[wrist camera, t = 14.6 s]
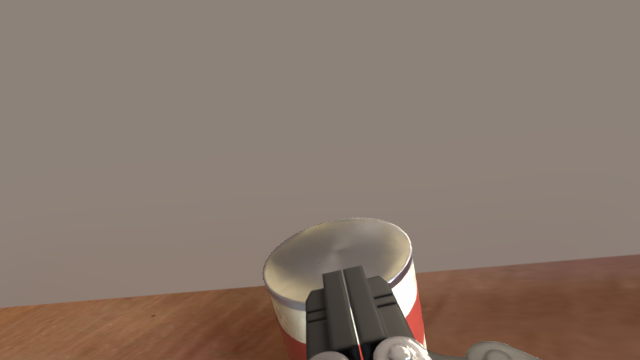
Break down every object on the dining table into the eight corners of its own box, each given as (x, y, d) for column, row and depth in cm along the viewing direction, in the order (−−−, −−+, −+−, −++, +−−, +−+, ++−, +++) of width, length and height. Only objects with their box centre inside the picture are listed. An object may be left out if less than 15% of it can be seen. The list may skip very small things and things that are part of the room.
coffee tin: (272, 403, 28) (230, 289, 25) (332, 305, 39) (309, 216, 35) (414, 464, 22) (386, 320, 18) (439, 326, 32) (425, 218, 29)
